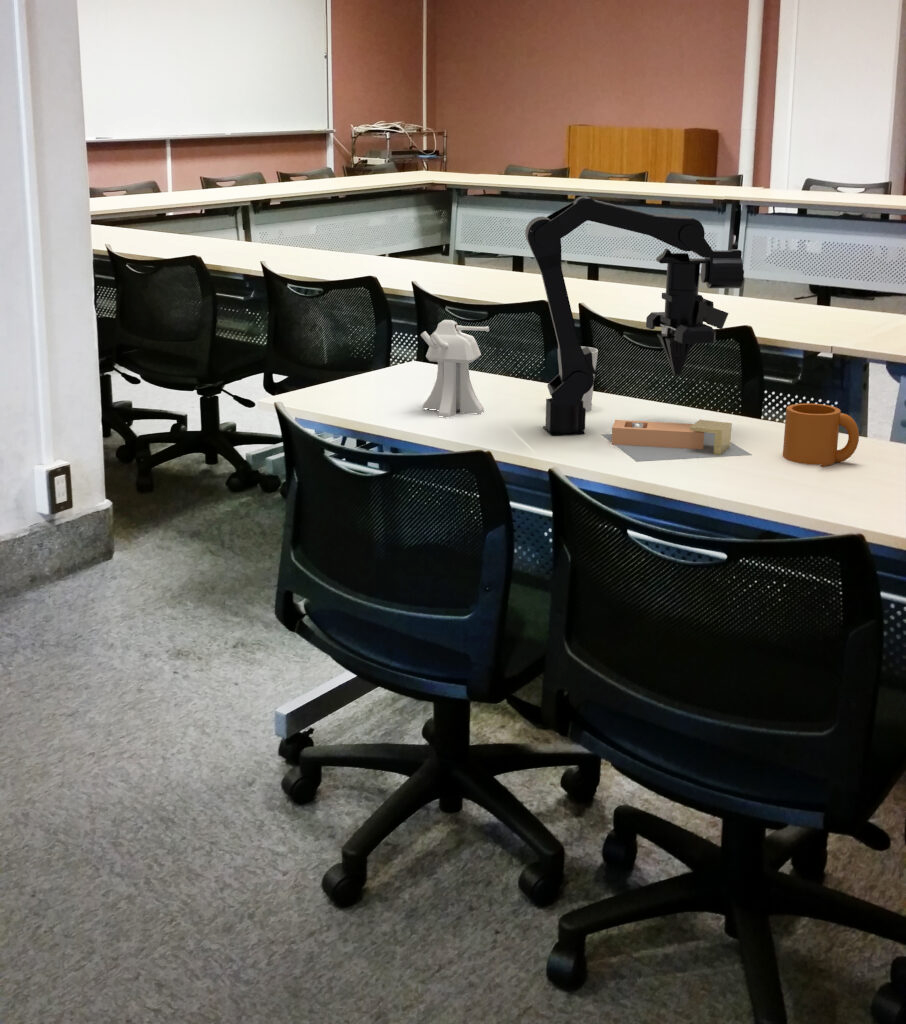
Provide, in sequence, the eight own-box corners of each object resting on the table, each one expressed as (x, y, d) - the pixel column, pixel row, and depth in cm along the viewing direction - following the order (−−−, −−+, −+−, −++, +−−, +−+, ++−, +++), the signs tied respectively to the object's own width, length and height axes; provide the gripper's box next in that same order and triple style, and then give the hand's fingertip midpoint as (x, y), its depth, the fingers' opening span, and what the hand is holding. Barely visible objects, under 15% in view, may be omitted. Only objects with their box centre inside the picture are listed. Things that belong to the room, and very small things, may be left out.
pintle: (633, 441, 214) (634, 425, 213) (629, 438, 216) (630, 422, 215) (644, 440, 215) (644, 424, 214) (640, 438, 216) (640, 422, 215)
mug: (846, 473, 197) (851, 420, 194) (775, 462, 203) (778, 411, 201) (861, 459, 204) (866, 408, 201) (792, 450, 211) (796, 400, 208)
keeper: (688, 451, 208) (689, 426, 207) (698, 443, 213) (700, 419, 212) (720, 455, 206) (722, 430, 204) (729, 447, 211) (731, 423, 209)
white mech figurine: (478, 420, 231) (479, 327, 225) (414, 415, 235) (413, 323, 229) (496, 407, 241) (497, 318, 236) (434, 402, 245) (434, 314, 240)
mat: (636, 463, 202) (636, 461, 202) (601, 436, 219) (601, 434, 219) (751, 457, 206) (752, 454, 206) (708, 430, 223) (708, 428, 223)
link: (611, 444, 212) (612, 427, 211) (614, 435, 218) (615, 419, 217) (703, 449, 209) (704, 432, 208) (703, 440, 215) (704, 424, 214)
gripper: (746, 294, 206) (739, 383, 211) (703, 280, 224) (698, 363, 229) (686, 296, 204) (680, 385, 209) (647, 282, 222) (642, 365, 226)
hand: (676, 374), depth 218 cm, fingers closed
